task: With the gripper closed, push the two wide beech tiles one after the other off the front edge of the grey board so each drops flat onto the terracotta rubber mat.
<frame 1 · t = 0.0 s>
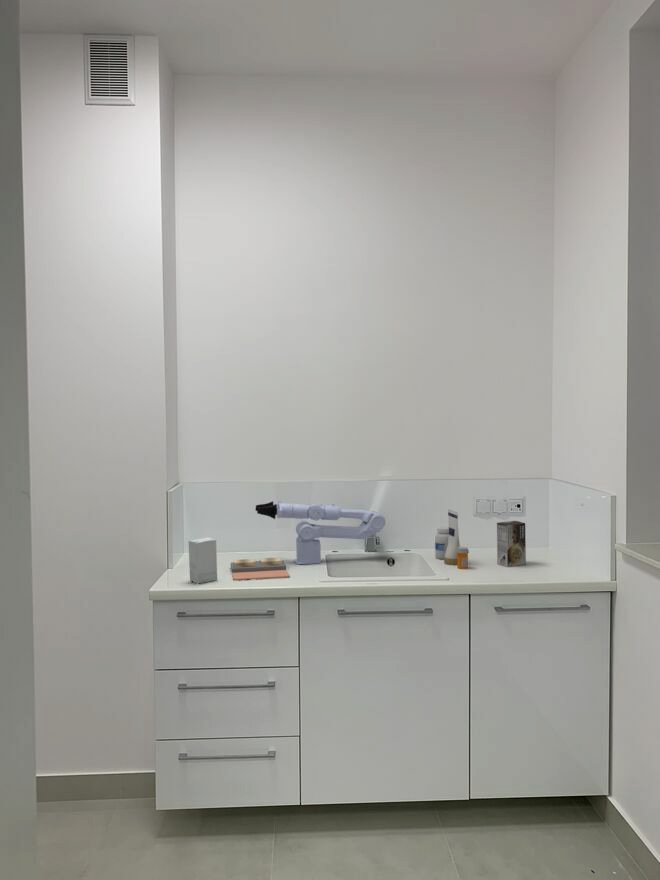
hand: (256, 509, 272), 22 cm above the worktop, tool horizontal, fingers open, 7 cm apart
grey board: (258, 569, 265), on the worktop
inner tile: (271, 563, 265), point 2 cm above the worktop, touching grey board
outer tile: (244, 565, 263), point 2 cm above the worktop, touching grey board
mat: (260, 575, 254), on the worktop
coffee box: (511, 564, 268), on the worktop
toiletry set: (452, 563, 273), on the worktop
skincare box: (203, 581, 248), on the worktop
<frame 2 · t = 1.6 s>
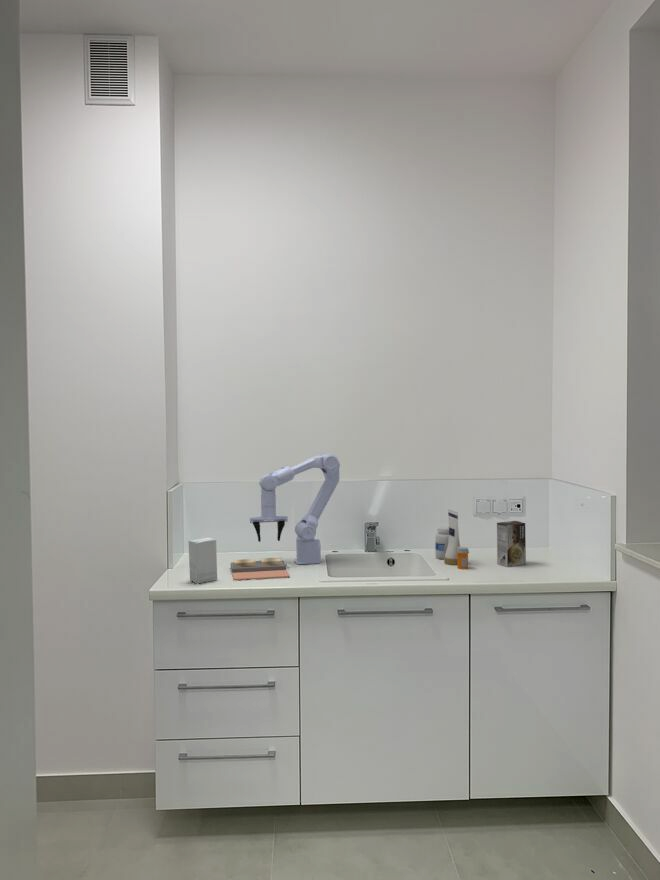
hand: (269, 540, 272), 9 cm above the worktop, tool pointing down, fingers open, 7 cm apart
nothing on the worktop moved.
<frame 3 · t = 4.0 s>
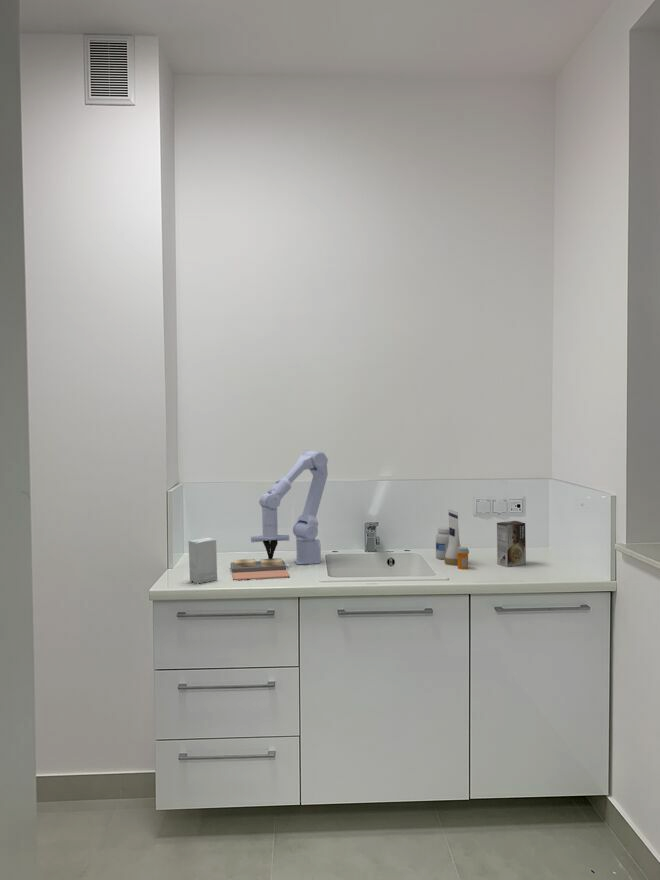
hand: (270, 560, 268), 3 cm above the worktop, tool pointing down, fingers closed, pressing on inner tile
inner tile: (271, 564, 264), point 2 cm above the worktop, touching gripper
everything else where it was.
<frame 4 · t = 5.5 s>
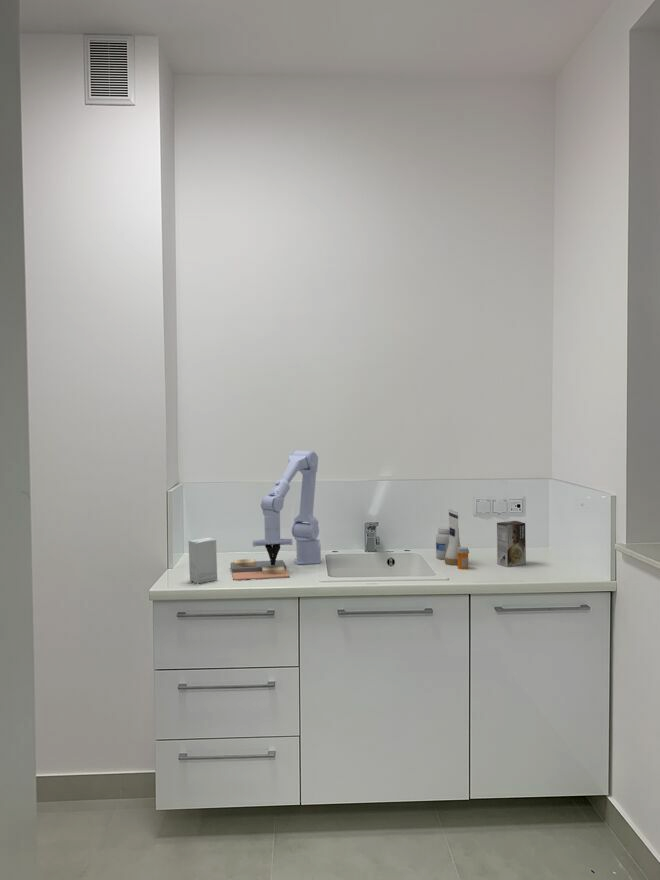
hand: (272, 564, 260), 3 cm above the worktop, tool pointing down, fingers closed
inner tile: (273, 572, 257), point 1 cm above the worktop, touching mat
everything else where it was.
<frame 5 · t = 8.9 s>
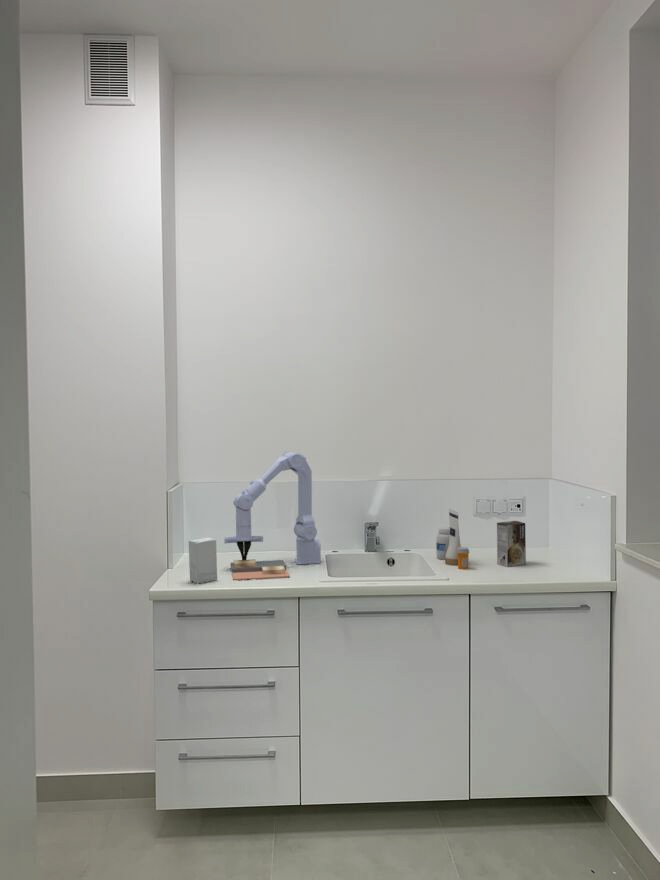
hand: (244, 561, 266), 3 cm above the worktop, tool pointing down, fingers closed, pressing on outer tile
outer tile: (245, 565, 262), point 2 cm above the worktop, touching grey board, gripper
everything else where it was.
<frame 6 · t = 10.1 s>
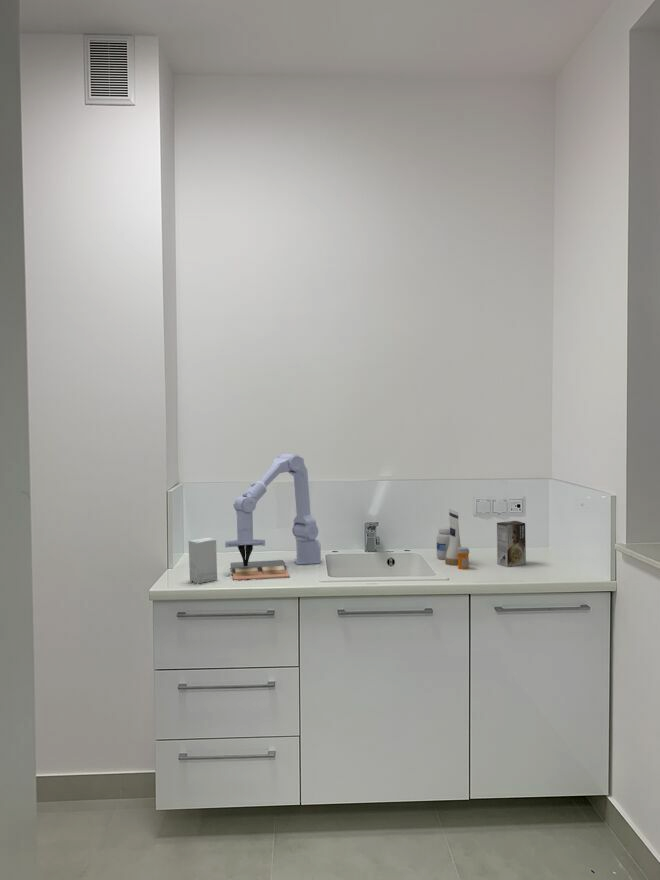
hand: (245, 565, 259), 3 cm above the worktop, tool pointing down, fingers closed
outer tile: (246, 573, 255), point 1 cm above the worktop, touching mat
everything else where it was.
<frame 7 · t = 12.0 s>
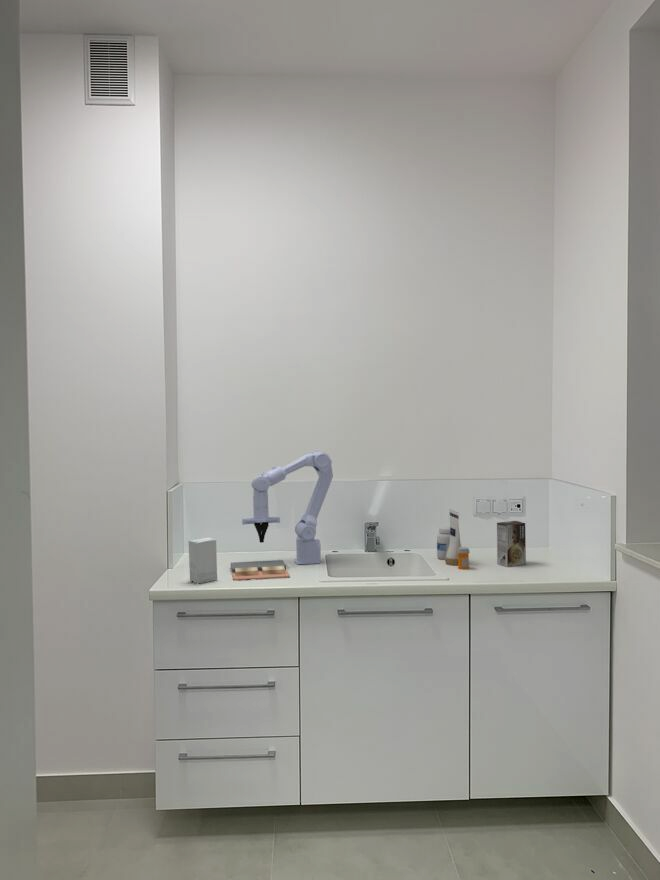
hand: (261, 542, 271), 9 cm above the worktop, tool pointing down, fingers closed
nothing on the worktop moved.
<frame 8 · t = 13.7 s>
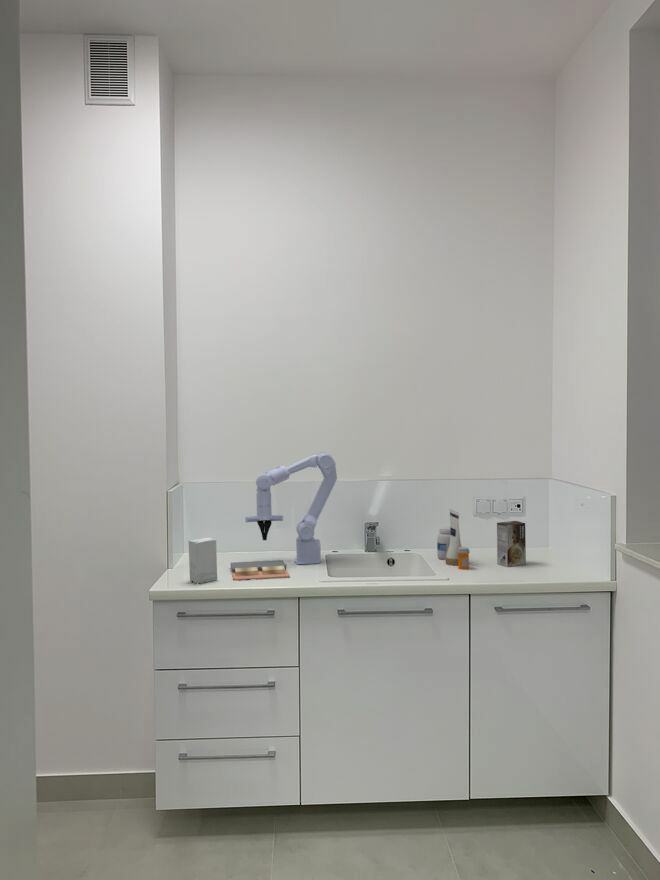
hand: (264, 539, 274), 9 cm above the worktop, tool pointing down, fingers closed
nothing on the worktop moved.
at the end: inner tile inside the target area (2.5 cm from its centre), point 0.6 cm above the worktop; outer tile inside the target area (2.7 cm from its centre), point 0.6 cm above the worktop; outer tile tilted 0° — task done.
